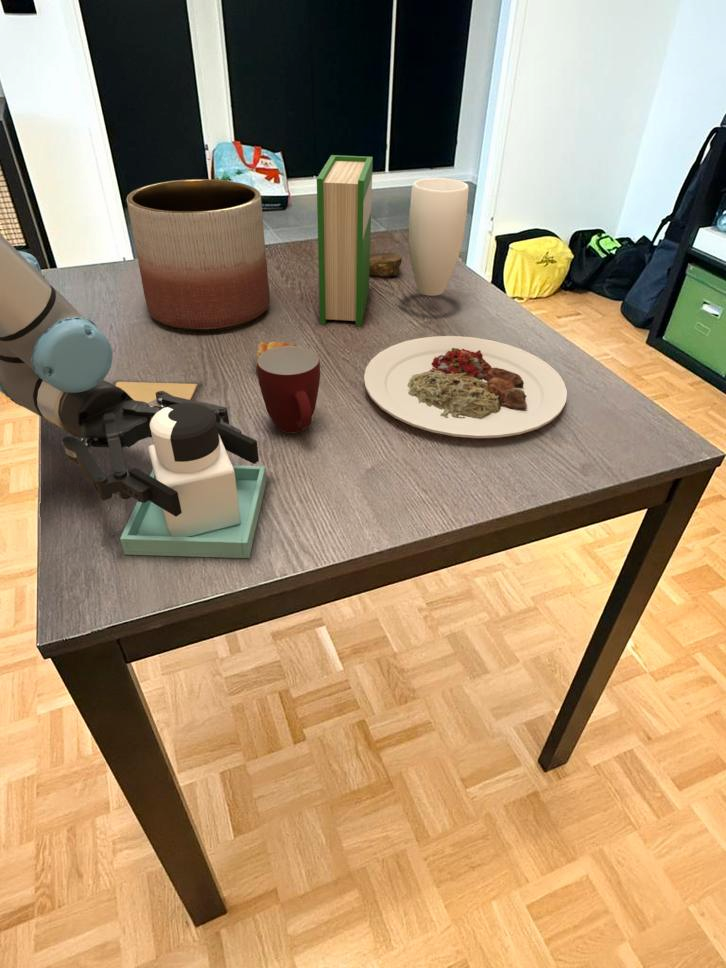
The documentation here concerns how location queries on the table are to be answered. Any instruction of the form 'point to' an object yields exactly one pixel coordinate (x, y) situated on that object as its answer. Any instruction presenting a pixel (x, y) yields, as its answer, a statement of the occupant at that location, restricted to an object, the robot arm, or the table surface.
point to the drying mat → (156, 390)
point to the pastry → (269, 347)
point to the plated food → (465, 386)
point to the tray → (236, 541)
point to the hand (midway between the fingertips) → (218, 477)
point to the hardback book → (344, 237)
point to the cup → (436, 231)
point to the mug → (289, 385)
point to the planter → (201, 252)
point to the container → (194, 469)
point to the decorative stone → (384, 264)
